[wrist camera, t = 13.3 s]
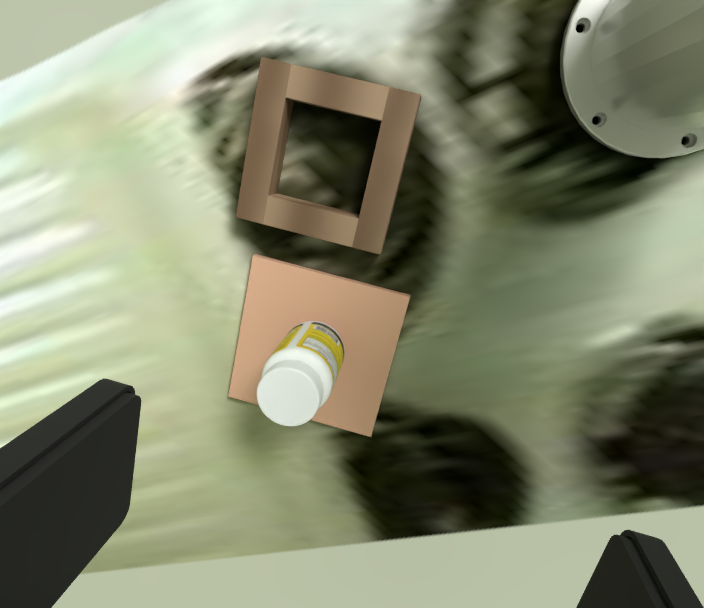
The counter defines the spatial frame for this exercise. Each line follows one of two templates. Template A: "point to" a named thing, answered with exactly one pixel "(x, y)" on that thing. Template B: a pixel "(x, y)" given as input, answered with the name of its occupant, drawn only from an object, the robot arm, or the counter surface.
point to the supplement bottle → (300, 373)
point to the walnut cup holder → (270, 142)
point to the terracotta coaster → (338, 312)
